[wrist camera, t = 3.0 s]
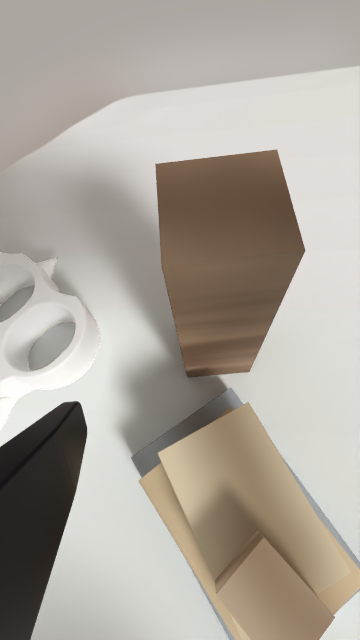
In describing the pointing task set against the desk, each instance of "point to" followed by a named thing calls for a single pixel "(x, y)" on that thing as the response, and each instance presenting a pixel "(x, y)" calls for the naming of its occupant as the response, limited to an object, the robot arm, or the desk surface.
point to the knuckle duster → (40, 331)
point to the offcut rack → (247, 525)
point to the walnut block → (226, 255)
